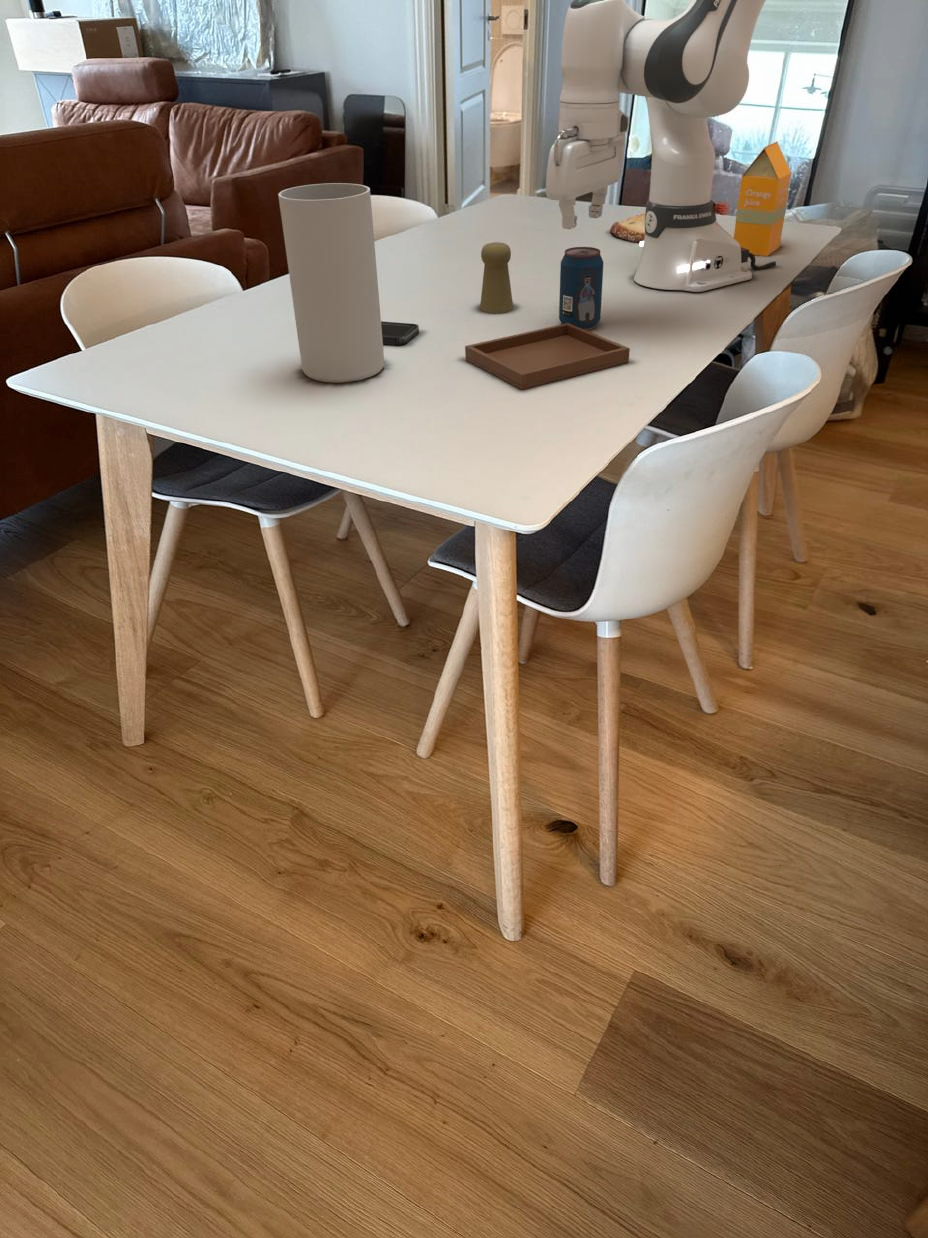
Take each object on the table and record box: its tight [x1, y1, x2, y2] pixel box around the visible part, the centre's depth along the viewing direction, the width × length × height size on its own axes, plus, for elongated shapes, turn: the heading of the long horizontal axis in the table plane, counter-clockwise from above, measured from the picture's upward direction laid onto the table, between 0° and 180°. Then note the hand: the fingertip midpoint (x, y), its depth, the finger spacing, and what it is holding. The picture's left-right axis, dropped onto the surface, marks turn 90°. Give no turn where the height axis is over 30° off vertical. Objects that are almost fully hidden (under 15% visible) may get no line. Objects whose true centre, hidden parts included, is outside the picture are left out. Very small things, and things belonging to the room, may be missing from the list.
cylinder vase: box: [277, 182, 385, 384], centre depth 131 cm, size 12×12×25 cm
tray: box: [464, 323, 631, 390], centre depth 138 cm, size 20×16×2 cm
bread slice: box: [609, 213, 645, 243], centre depth 203 cm, size 18×18×4 cm
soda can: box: [558, 246, 604, 331], centre depth 149 cm, size 7×7×12 cm
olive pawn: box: [479, 241, 514, 314], centre depth 159 cm, size 6×6×11 cm
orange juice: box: [733, 141, 792, 257], centre depth 186 cm, size 8×9×20 cm
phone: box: [381, 320, 420, 346], centre depth 151 cm, size 8×1×15 cm
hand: (582, 222), depth 143 cm, fingers open, 8 cm apart
